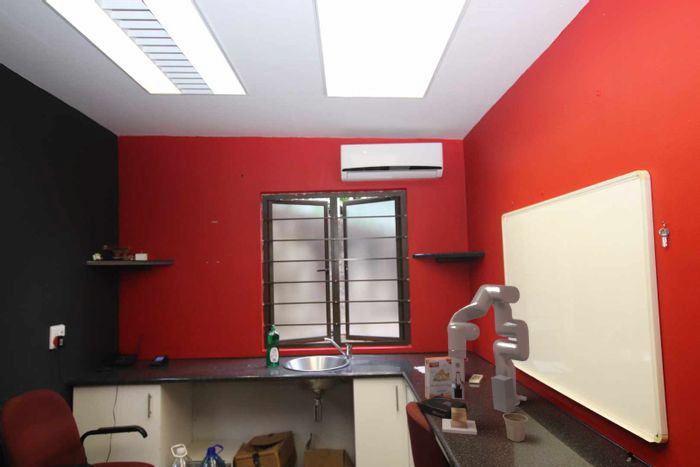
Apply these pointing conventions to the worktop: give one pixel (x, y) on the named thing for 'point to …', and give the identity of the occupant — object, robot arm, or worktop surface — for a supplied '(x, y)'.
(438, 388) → the cracker box
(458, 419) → the oak block
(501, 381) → the skincare box
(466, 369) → the plant pot
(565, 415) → the worktop surface
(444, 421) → the board
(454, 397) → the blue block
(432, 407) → the portable cd player
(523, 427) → the flower pot
